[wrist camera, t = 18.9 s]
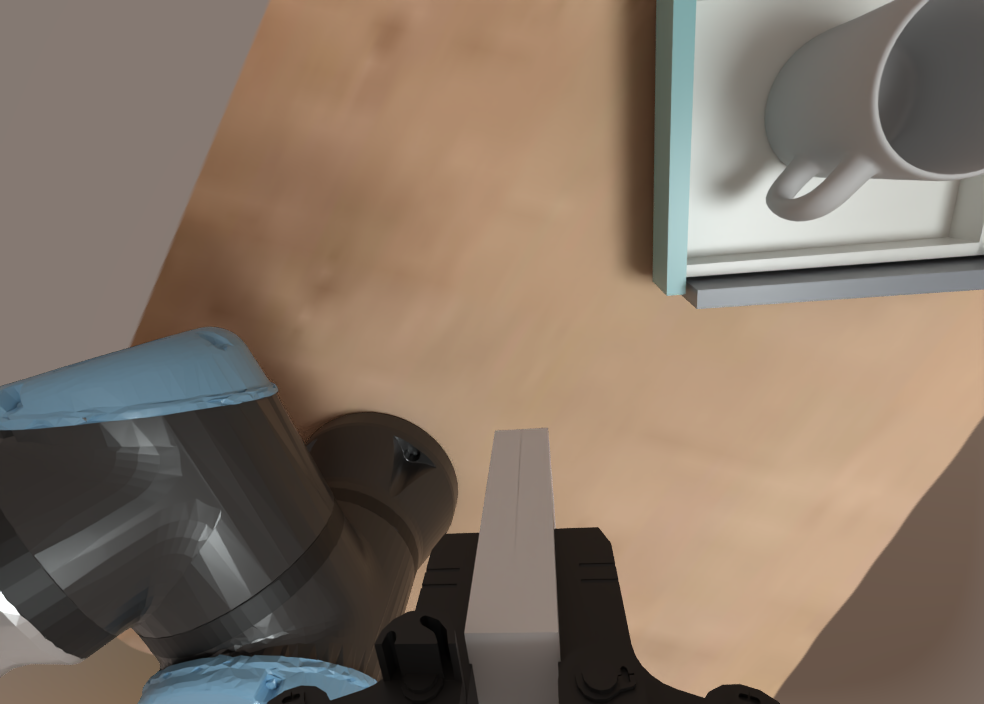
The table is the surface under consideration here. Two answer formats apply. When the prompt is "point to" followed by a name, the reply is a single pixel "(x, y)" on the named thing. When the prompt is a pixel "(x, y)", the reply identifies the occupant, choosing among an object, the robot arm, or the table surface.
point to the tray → (770, 156)
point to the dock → (837, 282)
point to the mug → (879, 104)
